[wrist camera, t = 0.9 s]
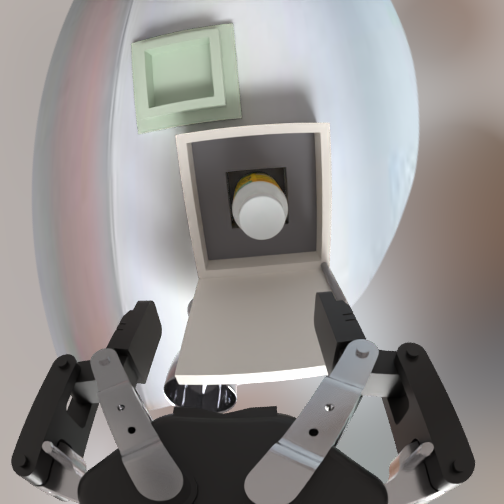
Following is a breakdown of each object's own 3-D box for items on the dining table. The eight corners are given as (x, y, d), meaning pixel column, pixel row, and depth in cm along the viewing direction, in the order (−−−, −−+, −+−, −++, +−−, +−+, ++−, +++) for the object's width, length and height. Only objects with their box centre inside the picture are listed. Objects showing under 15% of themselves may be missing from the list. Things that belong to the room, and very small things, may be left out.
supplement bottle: (266, 221, 34) (274, 257, 25) (226, 203, 32) (219, 233, 24) (287, 183, 31) (304, 206, 23) (246, 162, 30) (247, 177, 22)
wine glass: (249, 308, 39) (251, 393, 26) (220, 340, 42) (213, 421, 28) (201, 281, 37) (181, 365, 23) (176, 317, 40) (153, 398, 26)
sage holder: (133, 45, 23) (123, 38, 20) (233, 25, 23) (231, 15, 20) (140, 134, 28) (129, 135, 25) (241, 118, 28) (241, 116, 25)
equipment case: (185, 133, 29) (108, 146, 11) (316, 123, 28) (406, 124, 11) (205, 267, 36) (178, 384, 19) (319, 257, 36) (370, 366, 19)
